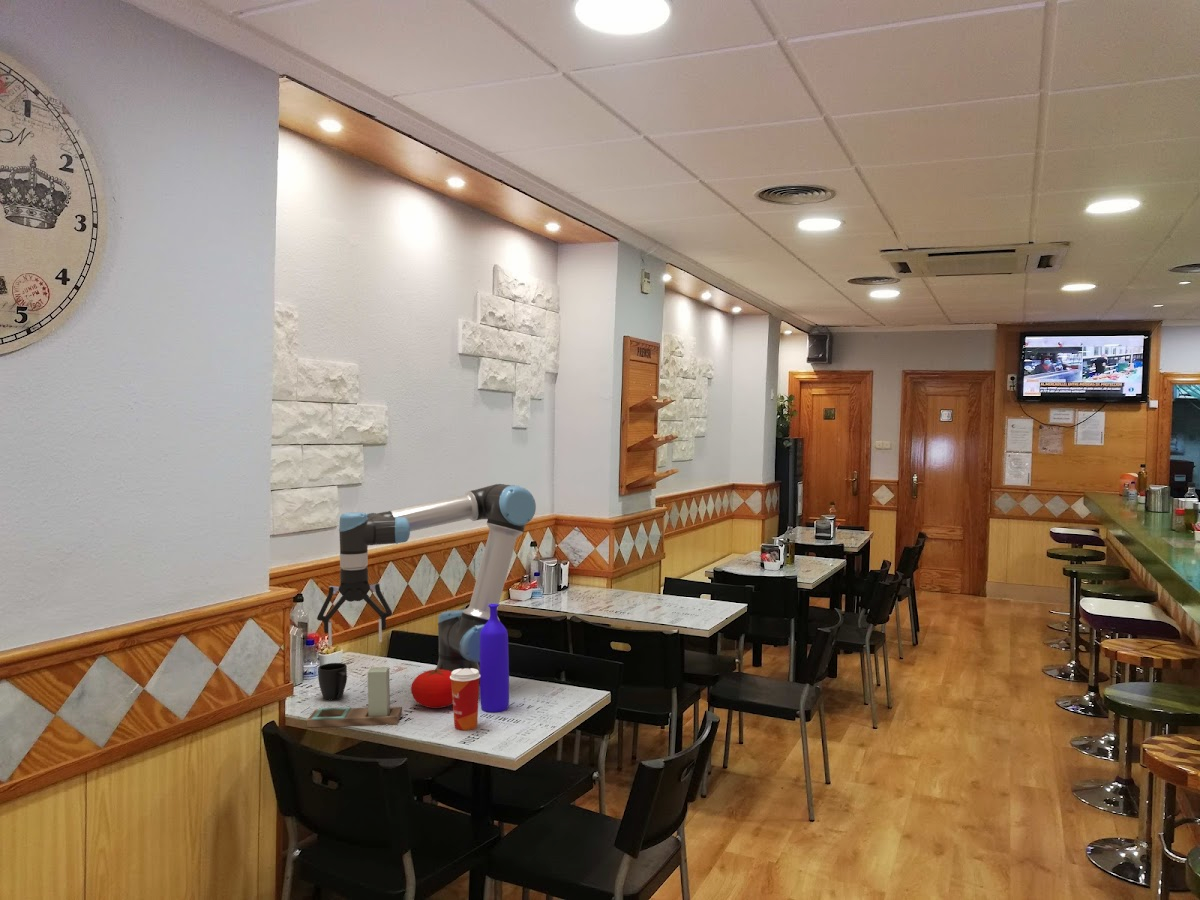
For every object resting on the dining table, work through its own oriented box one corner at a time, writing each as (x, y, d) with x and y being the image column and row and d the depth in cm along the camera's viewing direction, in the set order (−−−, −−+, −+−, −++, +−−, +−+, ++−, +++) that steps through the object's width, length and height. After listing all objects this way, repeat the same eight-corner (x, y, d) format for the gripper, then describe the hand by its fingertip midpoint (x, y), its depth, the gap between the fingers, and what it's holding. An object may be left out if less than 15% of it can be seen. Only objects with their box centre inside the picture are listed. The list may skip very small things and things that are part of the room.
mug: (331, 706, 257) (330, 674, 257) (314, 697, 267) (313, 666, 266) (357, 700, 263) (357, 669, 263) (339, 692, 272) (339, 661, 272)
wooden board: (402, 713, 251) (401, 705, 251) (396, 724, 242) (396, 716, 242) (315, 716, 249) (315, 708, 249) (307, 727, 240) (307, 718, 240)
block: (390, 716, 248) (389, 666, 248) (386, 722, 243) (386, 671, 243) (372, 717, 248) (371, 667, 248) (368, 723, 243) (367, 672, 243)
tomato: (467, 700, 263) (467, 665, 262) (451, 714, 250) (451, 677, 250) (422, 697, 265) (422, 663, 265) (404, 711, 253) (404, 675, 253)
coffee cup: (451, 722, 243) (450, 667, 243) (481, 720, 244) (481, 666, 244) (449, 732, 235) (448, 676, 234) (480, 731, 236) (479, 675, 235)
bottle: (486, 714, 249) (484, 608, 248) (476, 706, 257) (474, 603, 256) (513, 709, 253) (512, 605, 252) (503, 701, 260) (501, 600, 260)
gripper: (399, 563, 255) (400, 636, 256) (308, 568, 249) (310, 642, 250) (399, 567, 248) (401, 642, 249) (306, 572, 242) (308, 649, 243)
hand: (355, 643), depth 249 cm, fingers open, 13 cm apart
